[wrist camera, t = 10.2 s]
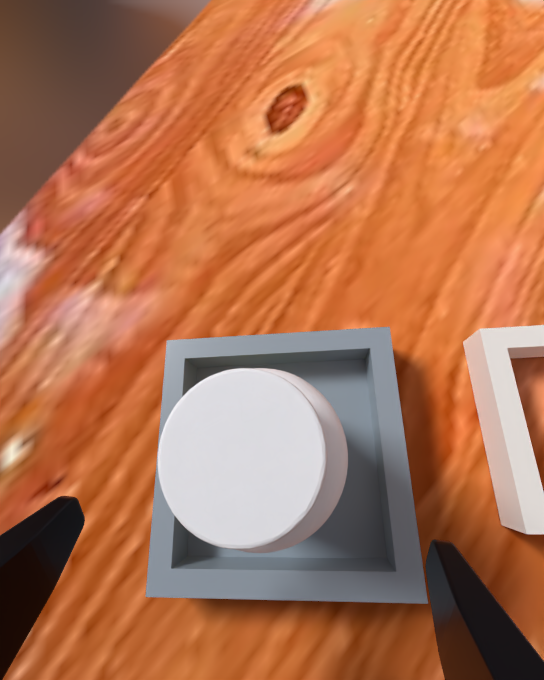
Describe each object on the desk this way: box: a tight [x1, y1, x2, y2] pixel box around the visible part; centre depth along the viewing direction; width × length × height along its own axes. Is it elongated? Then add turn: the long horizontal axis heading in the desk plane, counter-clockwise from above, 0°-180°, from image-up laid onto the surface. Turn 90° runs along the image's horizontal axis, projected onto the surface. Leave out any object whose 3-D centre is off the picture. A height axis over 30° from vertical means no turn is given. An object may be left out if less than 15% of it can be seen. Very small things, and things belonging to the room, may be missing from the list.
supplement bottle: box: [158, 368, 348, 553], centre depth 12 cm, size 5×5×10 cm
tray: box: [146, 327, 428, 604], centre depth 16 cm, size 11×11×2 cm
